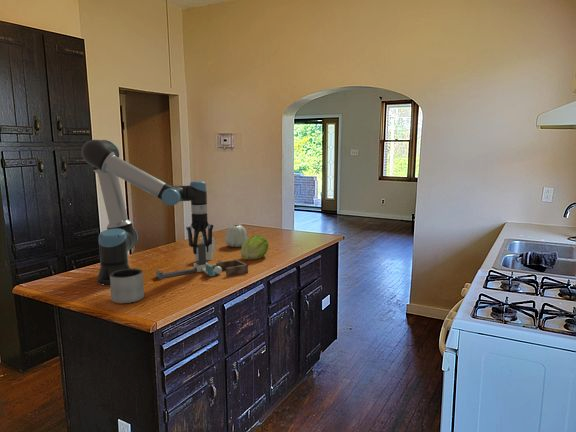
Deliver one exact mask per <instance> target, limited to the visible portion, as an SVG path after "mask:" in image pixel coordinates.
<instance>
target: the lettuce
mask: <svg viewBox="0 0 576 432" xmlns="http://www.w3.org/2000/svg"><path fill="white" fill-rule="evenodd" d="M240 248H241V249H240V256H241V258H242V259H244V260H252V261H253V260H260V259H261V258H262V257H264V256H265V255H266V254H267V252H268V250H269V243H268V240H267V238H265V236H262V235H259V234H258V235H257V234H255V235H253V236H251V237H248V239H247V240H246V241H245V242H244V243H243V245H242V247H240Z"/></svg>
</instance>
